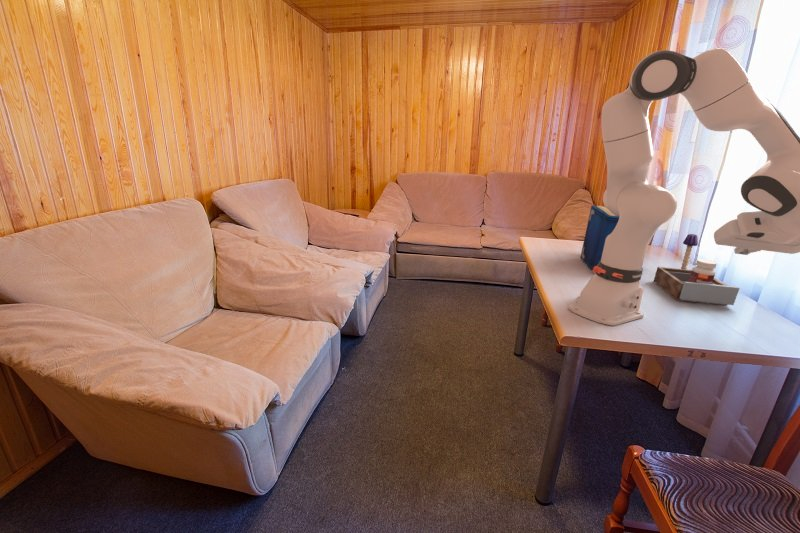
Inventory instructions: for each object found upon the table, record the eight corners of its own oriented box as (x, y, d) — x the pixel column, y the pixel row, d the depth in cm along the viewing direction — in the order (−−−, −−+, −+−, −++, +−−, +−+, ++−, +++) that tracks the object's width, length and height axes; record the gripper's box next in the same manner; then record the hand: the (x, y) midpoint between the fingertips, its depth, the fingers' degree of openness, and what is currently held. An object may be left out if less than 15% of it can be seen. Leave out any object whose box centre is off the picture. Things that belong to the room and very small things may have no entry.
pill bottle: (692, 295, 122) (702, 263, 118) (681, 288, 127) (691, 258, 124) (712, 296, 121) (723, 265, 117) (700, 289, 127) (710, 259, 123)
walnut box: (727, 305, 120) (733, 288, 118) (676, 300, 123) (681, 283, 121) (697, 285, 136) (702, 271, 134) (653, 281, 139) (657, 266, 137)
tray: (733, 305, 117) (739, 288, 115) (681, 299, 120) (686, 282, 118) (700, 284, 134) (705, 269, 132) (656, 279, 137) (660, 264, 135)
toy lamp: (683, 276, 146) (695, 236, 141) (671, 272, 150) (683, 233, 145) (690, 275, 148) (703, 235, 143) (678, 271, 152) (690, 232, 147)
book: (612, 277, 142) (628, 214, 134) (593, 275, 144) (607, 213, 136) (596, 260, 163) (608, 205, 154) (579, 259, 164) (590, 204, 156)
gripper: (824, 221, 92) (778, 248, 105) (733, 211, 96) (700, 238, 108) (831, 242, 90) (783, 267, 102) (738, 231, 93) (703, 256, 106)
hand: (740, 252), depth 105 cm, fingers closed
